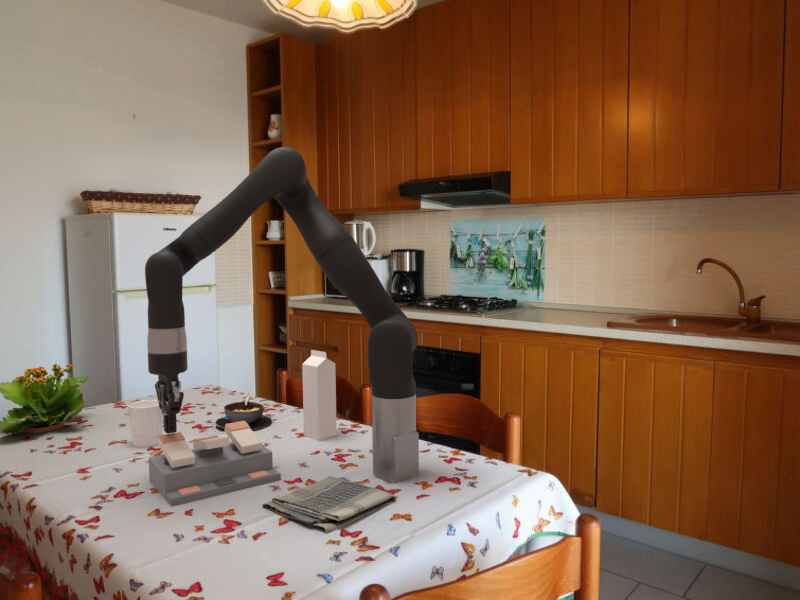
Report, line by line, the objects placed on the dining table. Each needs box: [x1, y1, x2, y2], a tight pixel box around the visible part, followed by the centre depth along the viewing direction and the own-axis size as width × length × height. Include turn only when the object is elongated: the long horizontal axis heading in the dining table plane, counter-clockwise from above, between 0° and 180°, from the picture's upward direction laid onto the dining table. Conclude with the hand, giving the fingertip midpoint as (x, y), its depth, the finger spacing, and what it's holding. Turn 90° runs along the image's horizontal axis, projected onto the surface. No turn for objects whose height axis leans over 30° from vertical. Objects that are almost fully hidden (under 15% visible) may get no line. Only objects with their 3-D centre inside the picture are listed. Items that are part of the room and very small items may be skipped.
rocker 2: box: [192, 435, 230, 449], centre depth 128 cm, size 10×4×2 cm, turn 36°
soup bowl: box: [215, 391, 273, 431], centre depth 168 cm, size 15×16×7 cm
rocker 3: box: [224, 421, 263, 454], centre depth 132 cm, size 10×4×2 cm, turn 36°
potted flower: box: [0, 363, 90, 435], centre depth 166 cm, size 25×24×18 cm
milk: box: [301, 349, 337, 441], centre depth 156 cm, size 6×6×22 cm
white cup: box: [128, 399, 164, 448], centre depth 152 cm, size 8×8×10 cm
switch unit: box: [148, 441, 282, 507], centre depth 126 cm, size 16×22×6 cm
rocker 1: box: [157, 431, 195, 468], centre depth 124 cm, size 10×4×2 cm, turn 36°
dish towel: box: [262, 475, 397, 535], centre depth 114 cm, size 19×18×3 cm
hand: (170, 432), depth 127 cm, fingers closed
